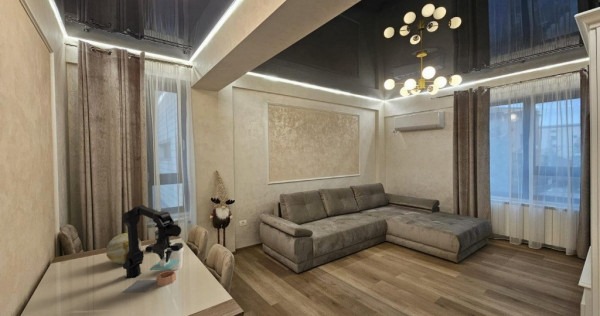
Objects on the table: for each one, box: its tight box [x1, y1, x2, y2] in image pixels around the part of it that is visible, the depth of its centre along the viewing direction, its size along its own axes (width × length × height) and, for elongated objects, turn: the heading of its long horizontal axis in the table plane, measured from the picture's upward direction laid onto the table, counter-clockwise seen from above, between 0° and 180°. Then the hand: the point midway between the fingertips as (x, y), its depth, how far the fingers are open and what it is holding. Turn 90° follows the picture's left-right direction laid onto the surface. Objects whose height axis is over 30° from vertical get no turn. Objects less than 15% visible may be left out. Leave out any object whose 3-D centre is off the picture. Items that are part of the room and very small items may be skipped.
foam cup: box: [170, 247, 185, 271], centre depth 159 cm, size 10×9×13 cm
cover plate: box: [149, 255, 180, 271], centre depth 141 cm, size 11×11×4 cm
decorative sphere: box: [105, 232, 142, 265], centre depth 172 cm, size 20×20×20 cm
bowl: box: [155, 270, 177, 287], centre depth 142 cm, size 9×9×4 cm
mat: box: [121, 279, 157, 294], centre depth 138 cm, size 13×13×1 cm
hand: (165, 262), depth 142 cm, fingers closed on cover plate, 2 cm apart
